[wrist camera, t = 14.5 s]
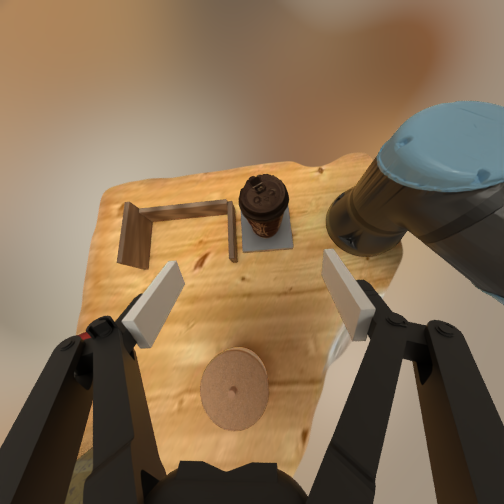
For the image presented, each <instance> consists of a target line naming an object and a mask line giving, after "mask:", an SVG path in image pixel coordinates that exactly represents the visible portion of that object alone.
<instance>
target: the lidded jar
mask: <svg viewBox="0 0 504 504" xmlns="http://www.w3.org/2000/svg"><path fill="white" fill-rule="evenodd" d="M200 395H201V401H202V404H203V407H204V409H205V412H206V413H207V415H208V416H209V418H210V419H211V420H212V421H213V422H214V423H215V424H216V425H218V426H219V427H221V428H223V429H226V430H229V431H241V430H244V429H247V428H249V427H251V426H252V425H254V424H255V423H256V422H257V421H258V420H259V419H260V418H261V416H262V414H263V413H264V411H265V409H266V406H267V402H268V396H269V384H268V377H267V372H266V369H265V366H264V364H263V362H262V361H261V359H260V358H259V357H258V355H257V354H255V353H254V352H253V351H251V350H250V349H247V348H244V347H232V348H229V349H227V350H225V351H223V352H222V353H220V354H219V355H217V356H216V357H215V358H214V359H213V360H212V361H211V362H210V363H209V364H208V366H207V367H206V369H205V371H204V373H203V376H202V380H201V386H200Z"/></svg>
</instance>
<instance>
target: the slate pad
mask: <svg viewBox="0 0 504 504" xmlns="http://www.w3.org/2000/svg"><path fill="white" fill-rule="evenodd" d="M241 226H242V247H243V253H250V252H262V251H274V250H286V249H293V241H292V233H291V224H290V216H289V208H288V207H287V209H286V210H285V212H284V215H283V218H282V222H281V225H280V227H279V230H278V232H277V233H276V234H275V235H274V236H272V237H270V238H261V237H259V236H258V235H256V234H255V233H254V232H253V230H252V226H251V225H250V224H249V223H248V221H247V219H246V218H245V217H244V216H243V214H242V212H241Z"/></svg>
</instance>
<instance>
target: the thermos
mask: <svg viewBox="0 0 504 504" xmlns="http://www.w3.org/2000/svg"><path fill="white" fill-rule="evenodd" d="M92 470H93V447H92V448H91V449H90V450H89V451H87V452H86V453H85V454H84V455H83V456H81V457H80V458H79V459H78V460H76V464H75V467H74V471H73V475H72V478H71V482H70V486H69V490H68V493H67V497H66V501H65V504H83V489H84V483H85V480H86V478H87V477H88V476H89V475H90V474H91V472H92Z"/></svg>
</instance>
